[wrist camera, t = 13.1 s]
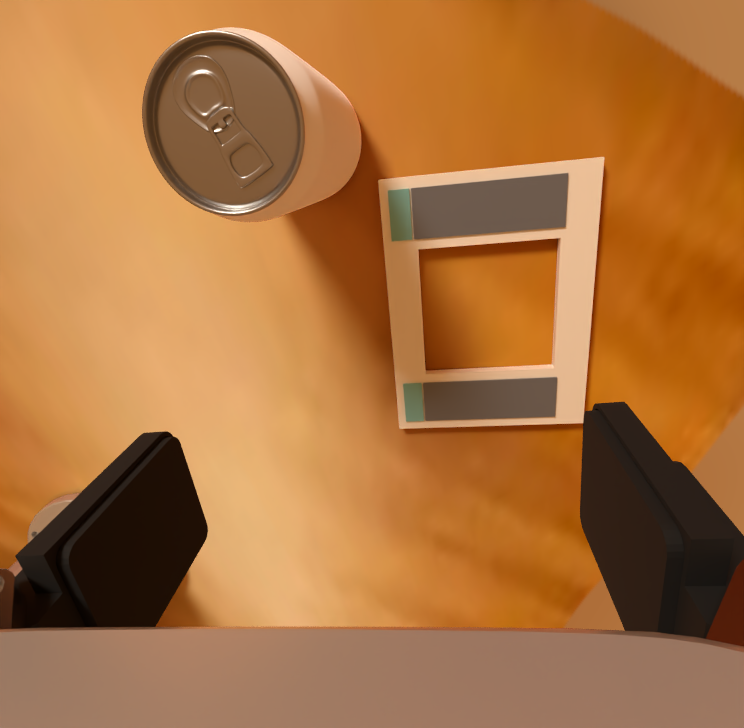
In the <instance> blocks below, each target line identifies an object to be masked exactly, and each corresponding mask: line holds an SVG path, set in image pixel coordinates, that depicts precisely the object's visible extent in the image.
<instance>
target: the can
mask: <svg viewBox="0 0 744 728" xmlns="http://www.w3.org/2000/svg"><path fill="white" fill-rule="evenodd" d="M142 119H143V128H144V134H145V138H146V142H147V145H148V148H149V151H150V154H151V156H152V158H153V160H154V162H155V164H156V166H157V168H158V170H159V171H160V173H161V174H162V176H163V177H164V179H165V180H166V181H167V182H168V184H169V185H170V186H171V187H172V188H173V189H174V190H175V191H176V192H177V193H178V194H179V195H180V196H182V197H183V198H184V199H185V200H187V201H188V202H190V203H191V204H193V205H195V206H196V207H198V208H200V209H203V210H205V211H208V212H210V213H213V214H215V215H218V216H220V217H223V218H226V219H229V220H233V221H240V222H259V221H266V220H270V219H273V218H277V217H280V216H283V215H285V214H288V213H291V212H293V211H296V210H299V209H301V208H304V207H306V206H309V205H312V204H314V203H317V202H319V201H321V200H324V199H326V198H328V197H330V196H332V195H333V194H335V193H336V192H338V191H339V190H340V189H341V188H343V187H344V186H345V184H346V183H347V182H348V181H349V180H350V178H351V177H352V175H353V173H354V171H355V169H356V167H357V164H358V161H359V157H360V153H361V130H360V125H359V121H358V118H357V115H356V113H355V110H354V108H353V106H352V105H351V103H350V101H349V100H348V99H347V97H346V96H345V95H344V94H343V92H342V91H341V90H340V89H339V88H337V87H336V86H335V85H334V84H333V83H332V82H330V81H329V80H328V79H327V78H325V77H324V76H323V75H322V74H320V73H319V72H318V71H317V70H315V69H314V68H313V67H311V66H310V65H309V64H308V63H306V62H305V61H304V60H302V59H301V58H300V57H298V56H297V55H296V54H294V53H293V52H292V51H290V50H289V49H288V48H286V47H285V46H283V45H282V44H280V43H279V42H277V41H275V40H274V39H272V38H270V37H268V36H266V35H263V34H261V33H258V32H255V31H252V30H248V29H243V28H233V27H229V28H218V29H214V30H206V31H200V32H196V33H192V34H190V35H187V36H185V37H183V38H181V39H179V40H178V41H176V42H175V43H173V44H172V45H171V46H170V47H169V48H168V49H166V50H165V52H164V53H163V54H162V55H161V56H160V57H159V59H158V60H157V62H156V63H155V65H154V67H153V69H152V70H151V73H150V75H149V77H148V80H147V83H146V87H145V91H144V96H143V105H142Z"/></svg>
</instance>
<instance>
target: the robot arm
mask: <svg viewBox="0 0 744 728" xmlns="http://www.w3.org/2000/svg"><path fill="white" fill-rule="evenodd" d="M580 518H581V524H582V528H583V531H584V533H585V536H586V538H587V540H588V543H589V545H590V548H591V550H592V552H593V555H594V557H595V560H596V562H597V564H598V567H599V569H600V572H601V574H602V576H603V579H604V581H605V583H606V586H607V588H608V591H609V593H610V596H611V598H612V600H613V603H614V605H615V607H616V610H617V612H618V615H619V617H620V619H621V622H622V624H623V627H624V629H625V631H619V630H594V629H573V628H473V627H155V626H156V624H157V623H158V621H159V619H160V618H161V616H162V614H163V612H164V611H165V609H166V607H167V606H168V604H169V602H170V600H171V599H172V597H173V595H174V594H175V592H176V590H177V588H178V587H179V585H180V583H181V582H182V580H183V578H184V576H185V575H186V573H187V571H188V570H189V568H190V566H191V564H192V563H193V561H194V559H195V558H196V556H197V554H198V552H199V551H200V549H201V547H202V546H203V544H204V542H205V540H206V537H207V532H208V528H207V523H206V520H205V517H204V514H203V511H202V508H201V505H200V502H199V498H198V495H197V492H196V489H195V486H194V483H193V480H192V477H191V474H190V471H189V468H188V465H187V462H186V459H185V456H184V453H183V450H182V447H181V444H180V442H179V440H178V439H177V438H176V437H173V436H172V434H171V433H169V432H152V433H143V434H142V435H140V436H139V437H138V438H137V439H136V440H135V441H134V442H133V443H132V444H131V445H130V446H129V447H128V448H127V449H126V450H125V451H124V452H123V453H122V454H121V455H119V456H118V457H117V458H116V459H115V460H114V461H113V462H112V463H111V464H110V465H109V466H108V467H107V468H106V469H105V470H104V471H103V472H102V473H101V474H100V475H99V476H98V477H97V478H96V479H95V480H94V481H92V482H91V483H90V484H89V485H88V486H87V487H86V488H85V489H84V490H83V491H82V492H81V493H76V494H70V495H65V496H62V497H59V498H57V499H55V500H53V501H52V502H50V503H49V504H47V505H46V506H45V507H44V508H43V509H42V510H41V511H40V512H39V513H38V514H37V515H35V517H34V519H33V520H32V522H31V524H30V527H29V530H28V544H27V545H26V546H25V547H24V548H23V549H22V550H21V551H20V552H19V553H18V554H17V555H16V558H17V561H16V562H15V563H14V564H13V565H12V566H11V567H10V568H9V569H8V570H7V569H0V728H744V536H743V534H742V533H741V532H740V531H739V530H738V528H737V527H736V526H735V525H734V524H733V523H732V521H731V520H730V519H729V518H728V517H727V515H726V514H725V513H724V512H723V511H722V509H721V508H720V507H719V506H718V505H717V503H716V502H715V501H714V500H713V499H712V497H711V496H710V495H709V494H708V493H707V491H706V490H705V489H704V488H703V487H702V486H701V484H700V483H699V482H698V481H697V479H696V478H695V477H694V476H693V475H692V473H691V472H690V471H689V470H688V469H687V467H686V466H684V465H683V464H682V463H681V462H677V461H672V460H671V459H670V457H669V456H668V455H667V454H666V452H665V451H664V450H663V449H662V447H661V446H660V445H659V444H658V442H657V441H656V440H655V439H654V438H653V436H652V435H651V434H650V433H649V431H648V430H647V429H646V428H645V426H644V425H643V424H642V423H641V421H640V420H639V419H638V418H637V416H636V415H635V414H634V413H633V411H632V410H631V409H630V408H629V407H628V405H627V404H626V403H625V402H614V403H598V404H595V405H594V406H593V410H592V411H585V413H584V421H583V448H582V474H581V501H580Z"/></svg>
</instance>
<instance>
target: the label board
mask: <svg viewBox="0 0 744 728" xmlns="http://www.w3.org/2000/svg"><path fill="white" fill-rule="evenodd" d="M603 169H604V157H598V158H588V159H578V160H568V161H558V162H548V163H538V164H529V165H519V166H509V167H499V168H489V169H479V170H469V171H459V172H449V173H439V174H429V175H420V176H410V177H400V178H390V179H380V180H378V186H379V197H380V209H381V221H382V232H383V244H384V255H385V267H386V278H387V290H388V302H389V313H390V325H391V336H392V348H393V359H394V371H395V383H396V394H397V406H398V417H399V429H409V428H441V427H474V426H506V425H538V424H571V423H583V419H584V407H585V394H586V382H587V369H588V357H589V344H590V332H591V319H592V307H593V294H594V281H595V269H596V256H597V244H598V231H599V219H600V206H601V194H602V181H603ZM554 238H558V249H557V270H556V290H555V311H554V331H553V351H552V365H532V366H511V367H489V368H468V369H446V370H426V368H425V351H424V334H423V317H422V300H421V283H420V267H419V250H418V249H430V248H442V247H455V246H467V245H480V244H492V243H504V242H517V241H529V240H542V239H554Z"/></svg>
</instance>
